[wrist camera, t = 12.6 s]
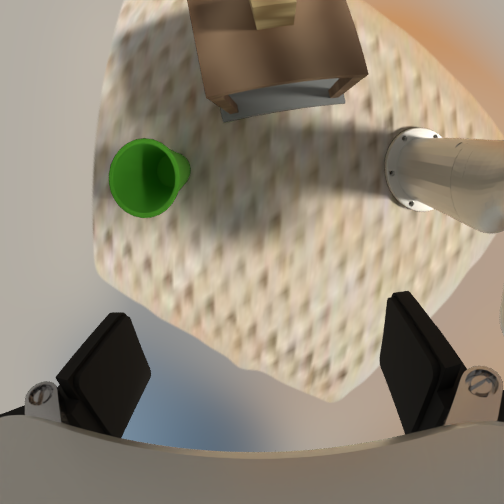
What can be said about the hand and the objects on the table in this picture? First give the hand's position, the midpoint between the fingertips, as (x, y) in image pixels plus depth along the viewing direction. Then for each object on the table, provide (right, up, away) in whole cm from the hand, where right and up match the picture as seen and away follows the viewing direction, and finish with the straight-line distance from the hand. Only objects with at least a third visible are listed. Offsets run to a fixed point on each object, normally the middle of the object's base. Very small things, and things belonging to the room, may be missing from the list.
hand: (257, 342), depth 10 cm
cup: (-11, +15, +31) cm, 36 cm away
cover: (+3, +30, +23) cm, 38 cm away
